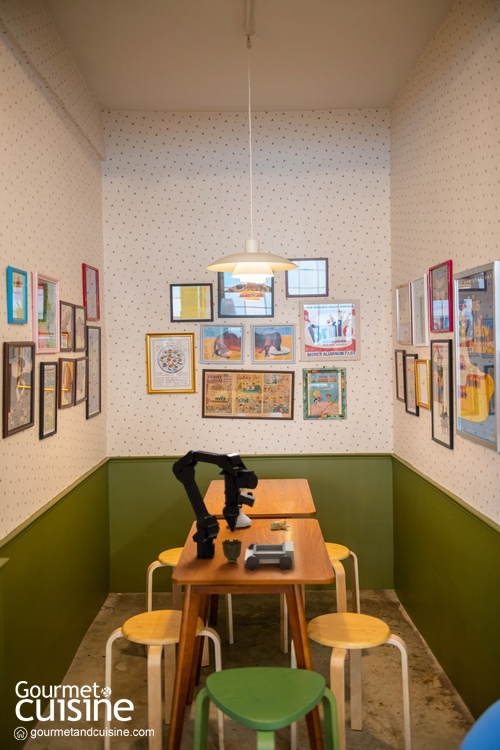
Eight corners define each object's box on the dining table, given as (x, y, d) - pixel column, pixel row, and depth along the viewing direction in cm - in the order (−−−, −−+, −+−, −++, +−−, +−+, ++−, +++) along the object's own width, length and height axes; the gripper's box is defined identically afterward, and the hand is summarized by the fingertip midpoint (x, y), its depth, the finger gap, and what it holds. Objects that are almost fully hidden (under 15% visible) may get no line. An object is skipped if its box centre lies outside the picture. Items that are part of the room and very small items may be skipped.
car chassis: (244, 570, 239) (244, 553, 239) (246, 555, 257) (246, 539, 257) (294, 569, 239) (294, 553, 238) (293, 554, 257) (292, 539, 256)
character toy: (291, 522, 294) (274, 523, 292) (291, 529, 294) (274, 531, 292) (285, 518, 301) (268, 519, 299) (285, 525, 301) (269, 526, 299)
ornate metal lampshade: (242, 559, 252) (241, 538, 252) (242, 565, 245) (242, 543, 245) (222, 559, 252) (222, 539, 252) (222, 565, 245) (221, 544, 245)
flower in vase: (241, 530, 294) (240, 474, 293) (221, 527, 301) (220, 472, 300) (258, 524, 304) (257, 470, 304) (239, 521, 311) (238, 468, 310)
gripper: (252, 491, 238) (254, 534, 238) (254, 482, 256) (256, 522, 257) (221, 492, 238) (223, 535, 239) (226, 483, 257) (227, 523, 257)
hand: (233, 528), depth 248 cm, fingers open, 9 cm apart
